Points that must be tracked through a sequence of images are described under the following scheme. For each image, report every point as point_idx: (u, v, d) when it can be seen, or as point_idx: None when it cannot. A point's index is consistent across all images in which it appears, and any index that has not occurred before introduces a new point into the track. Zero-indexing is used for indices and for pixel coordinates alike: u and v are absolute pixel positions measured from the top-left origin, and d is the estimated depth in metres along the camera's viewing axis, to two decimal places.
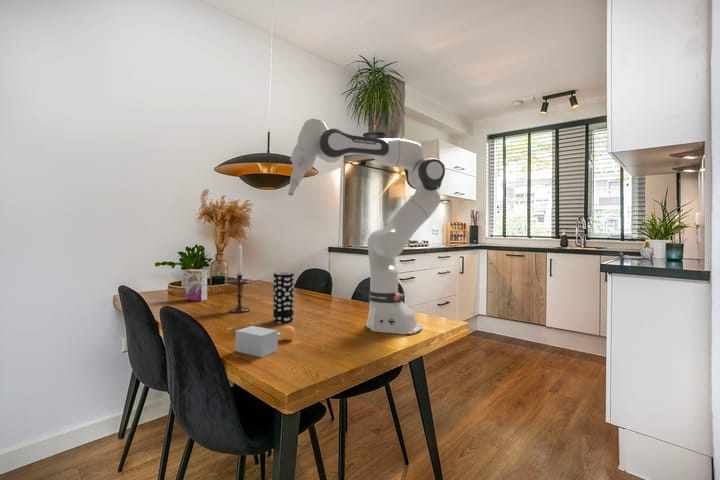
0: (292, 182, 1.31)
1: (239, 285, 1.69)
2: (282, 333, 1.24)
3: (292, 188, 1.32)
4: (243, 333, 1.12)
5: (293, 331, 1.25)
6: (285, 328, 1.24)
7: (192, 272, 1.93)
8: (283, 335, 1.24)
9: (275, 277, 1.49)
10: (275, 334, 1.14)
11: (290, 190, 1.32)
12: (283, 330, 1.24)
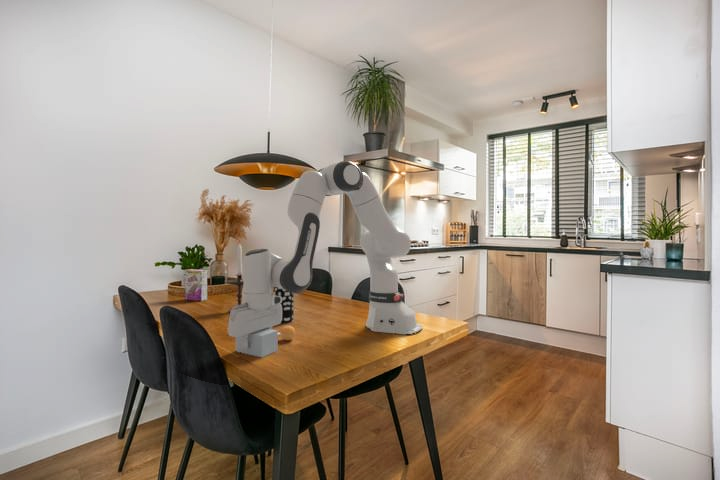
0: (240, 337, 1.09)
1: (239, 285, 1.69)
2: (282, 333, 1.24)
3: (244, 343, 1.09)
4: None
5: (293, 331, 1.25)
6: (285, 328, 1.24)
7: (192, 272, 1.93)
8: (283, 335, 1.24)
9: None
10: (275, 334, 1.14)
11: (244, 346, 1.10)
12: (283, 330, 1.24)
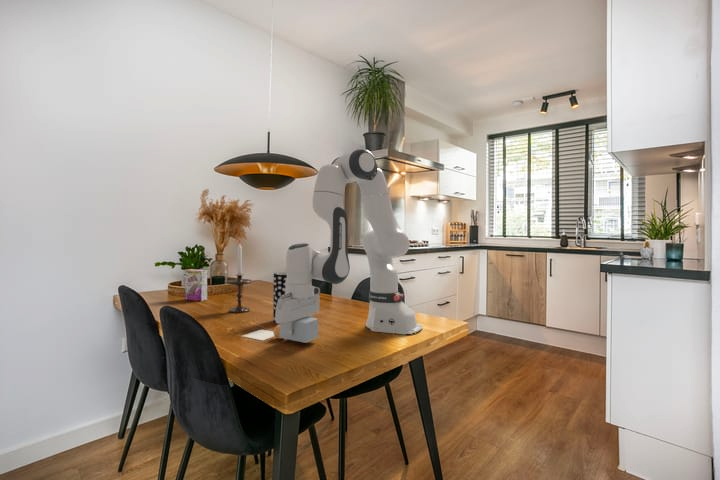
0: (285, 324, 1.18)
1: (239, 285, 1.69)
2: (275, 334, 1.25)
3: (289, 330, 1.19)
4: None
5: None
6: None
7: (192, 272, 1.93)
8: (276, 333, 1.25)
9: (275, 277, 1.49)
10: (316, 322, 1.23)
11: (288, 332, 1.19)
12: None
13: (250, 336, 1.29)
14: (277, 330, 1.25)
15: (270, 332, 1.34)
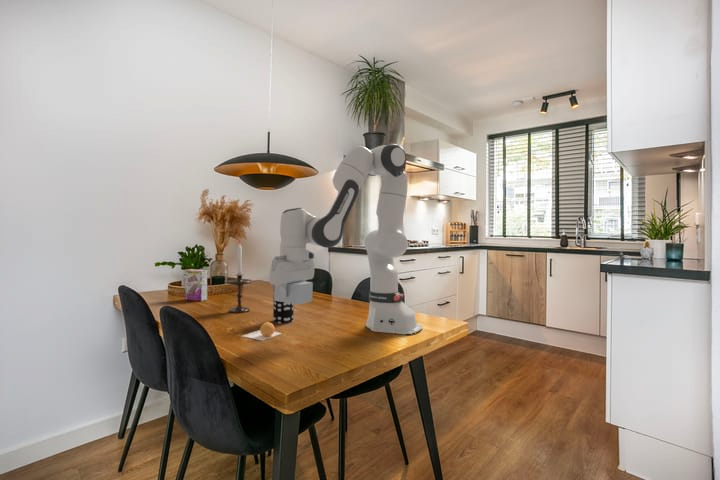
0: (280, 286, 1.19)
1: (239, 285, 1.69)
2: (264, 331, 1.28)
3: (283, 292, 1.20)
4: None
5: None
6: (266, 335, 1.28)
7: (192, 272, 1.93)
8: (262, 330, 1.28)
9: None
10: (310, 285, 1.24)
11: (282, 294, 1.20)
12: (265, 333, 1.28)
13: (250, 336, 1.29)
14: (261, 332, 1.29)
15: None
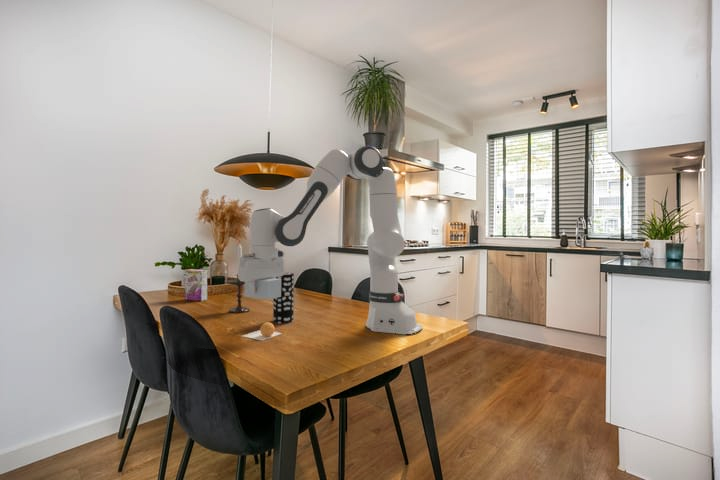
0: (248, 283, 1.26)
1: (239, 285, 1.69)
2: (264, 331, 1.28)
3: (252, 288, 1.27)
4: None
5: None
6: (266, 335, 1.28)
7: (192, 272, 1.93)
8: (262, 330, 1.28)
9: None
10: (279, 282, 1.31)
11: (251, 290, 1.27)
12: (265, 333, 1.28)
13: (250, 336, 1.29)
14: (261, 332, 1.29)
15: None
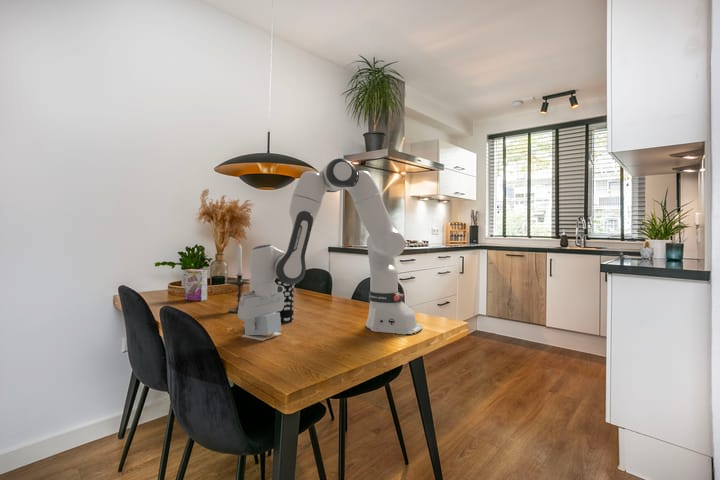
0: (248, 320, 1.26)
1: (239, 285, 1.69)
2: None
3: (252, 325, 1.27)
4: None
5: None
6: (266, 335, 1.28)
7: (192, 272, 1.93)
8: None
9: None
10: (278, 315, 1.31)
11: (251, 328, 1.27)
12: None
13: (250, 336, 1.29)
14: None
15: None
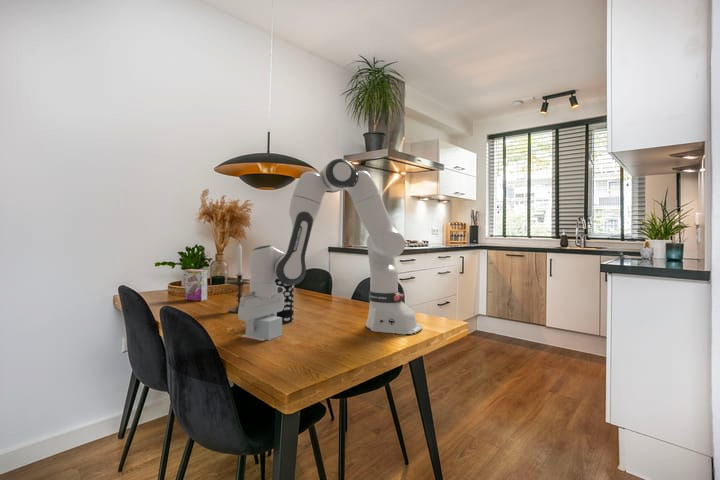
0: (247, 321, 1.26)
1: (239, 285, 1.69)
2: None
3: (251, 326, 1.27)
4: None
5: None
6: None
7: (192, 272, 1.93)
8: None
9: None
10: (280, 320, 1.31)
11: (250, 329, 1.27)
12: None
13: (250, 336, 1.29)
14: None
15: None
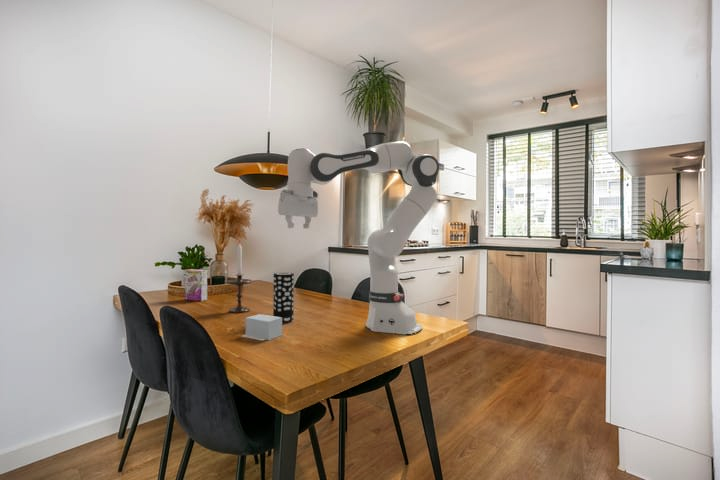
0: (286, 218, 1.32)
1: (239, 285, 1.69)
2: None
3: (289, 223, 1.33)
4: (252, 319, 1.29)
5: None
6: None
7: (192, 272, 1.93)
8: None
9: (275, 277, 1.49)
10: (280, 320, 1.31)
11: (288, 226, 1.33)
12: None
13: (250, 336, 1.29)
14: None
15: None
